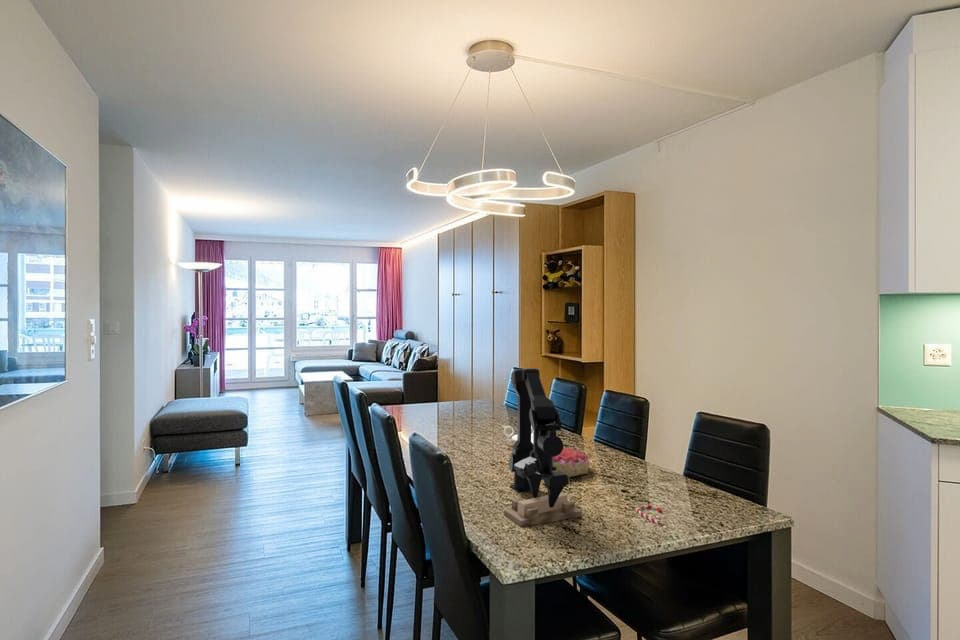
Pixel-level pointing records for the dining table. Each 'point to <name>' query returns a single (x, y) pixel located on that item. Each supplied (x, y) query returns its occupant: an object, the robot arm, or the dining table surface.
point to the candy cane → (647, 515)
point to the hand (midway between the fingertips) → (542, 502)
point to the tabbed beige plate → (541, 514)
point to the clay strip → (540, 504)
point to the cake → (571, 462)
